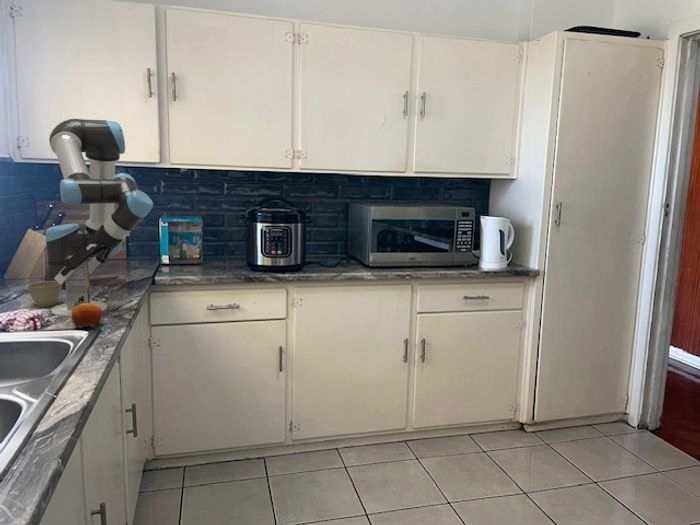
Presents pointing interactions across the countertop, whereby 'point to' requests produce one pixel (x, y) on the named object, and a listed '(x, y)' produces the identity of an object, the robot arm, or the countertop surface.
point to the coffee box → (77, 285)
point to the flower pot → (45, 292)
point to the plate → (62, 310)
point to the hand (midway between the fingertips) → (71, 277)
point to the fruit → (86, 315)
